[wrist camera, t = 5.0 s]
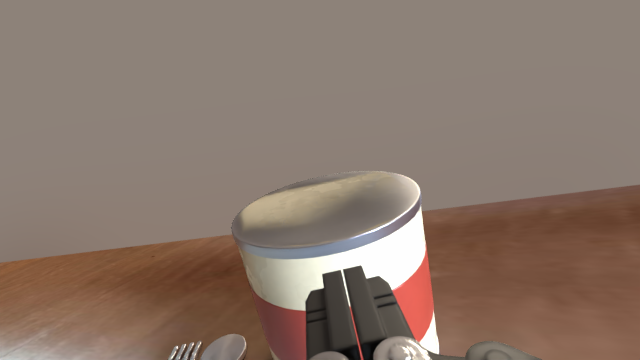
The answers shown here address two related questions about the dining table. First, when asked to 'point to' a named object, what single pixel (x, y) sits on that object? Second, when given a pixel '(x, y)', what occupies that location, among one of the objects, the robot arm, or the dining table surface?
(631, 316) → the dining table surface
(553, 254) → the dining table surface
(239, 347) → the spoon
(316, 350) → the robot arm
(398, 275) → the coffee tin
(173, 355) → the fork
